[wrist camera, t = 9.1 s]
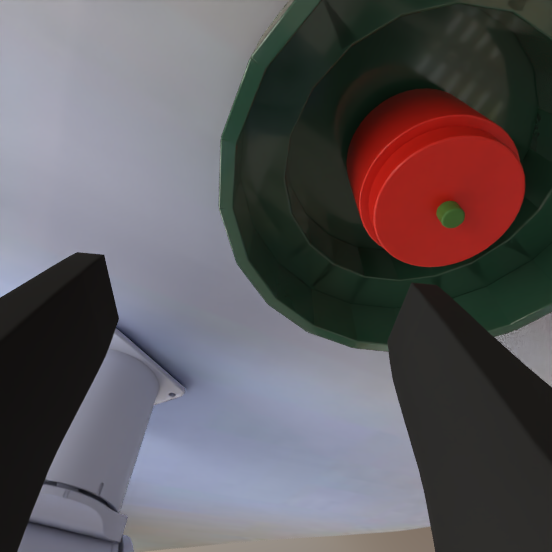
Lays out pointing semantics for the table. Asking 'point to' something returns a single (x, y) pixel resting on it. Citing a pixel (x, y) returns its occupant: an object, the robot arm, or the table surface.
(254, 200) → the green round bowl
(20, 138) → the table surface
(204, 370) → the table surface
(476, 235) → the pepper
